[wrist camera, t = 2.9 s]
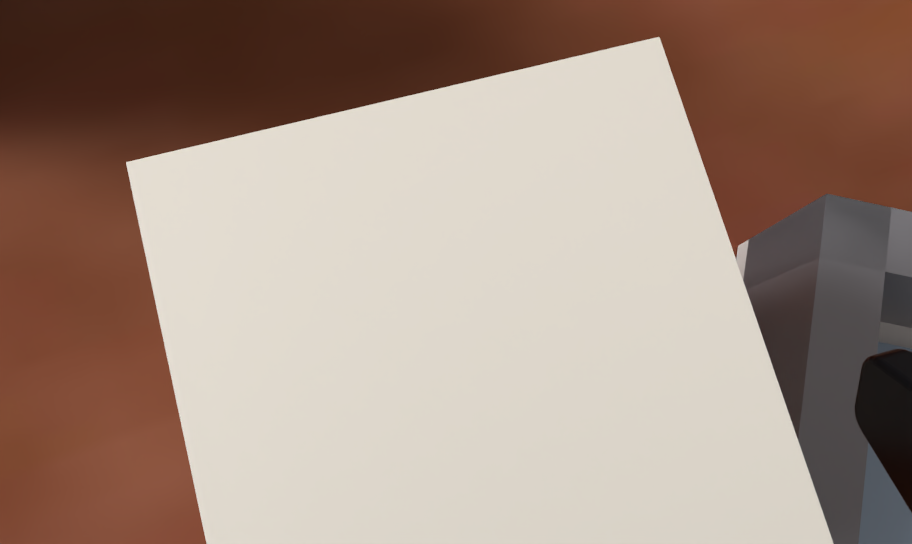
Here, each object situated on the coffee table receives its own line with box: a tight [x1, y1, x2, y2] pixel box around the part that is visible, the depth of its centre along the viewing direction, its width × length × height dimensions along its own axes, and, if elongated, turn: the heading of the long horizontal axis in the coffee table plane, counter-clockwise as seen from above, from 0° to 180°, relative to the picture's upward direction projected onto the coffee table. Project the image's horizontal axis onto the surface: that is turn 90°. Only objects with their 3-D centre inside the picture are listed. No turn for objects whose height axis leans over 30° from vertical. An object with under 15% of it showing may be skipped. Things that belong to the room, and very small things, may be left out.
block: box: [126, 37, 834, 544], centre depth 13 cm, size 5×5×11 cm
